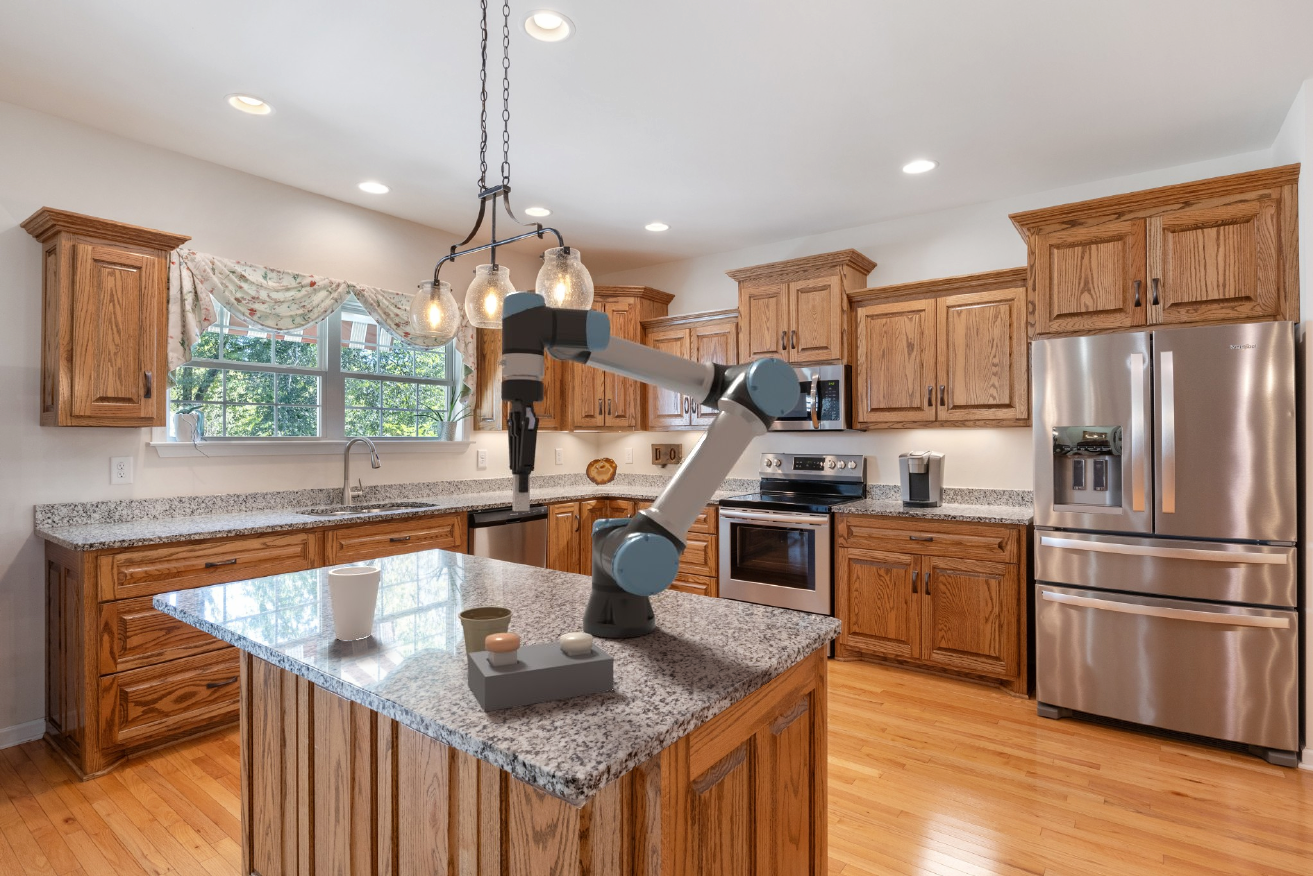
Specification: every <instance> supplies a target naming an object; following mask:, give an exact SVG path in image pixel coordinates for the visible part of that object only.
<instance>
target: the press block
mask: <svg viewBox="0 0 1313 876" xmlns="http://www.w3.org/2000/svg"><path fill="white" fill-rule="evenodd" d="M614 664H615V663H614V657H612V656H611V655H610V654H608V653H607V652H606V651H604V650H603V649H602V648H600V647H599V646H597V644H595V643H594V642H592V647H591V653H588V654H581V655H574V656H567V655H566V654H565V653H564V652H563V651H562V649H561V648H560V641H554V642H552V641H551V642H546V643H537V644H530V645H528V644H527V645H522V646H521V645H520V648H519V649H517V663H516V664H509V665H502V666H494V667H492V666H491V665H490V663H489V662H488V651H481V652H473V653H468V662H467V686H468V687H469V689H470V691H471V692H472V694H473V695H474V697H475V699H476V700H477V702H478V703H479V705H480V707H481V708H482V710H483V712H485V713H486V712H491V711H492V712H493V711H497V710H503V709H510V708H515V707H516V708H517V707H521V706H528V705H533V704H539V703H546V702H551V701H558V700H564V699H568V698H575V697H580V696H581V695H582V696H586V695H587V694H588V695H593V693H594V694H598V693H597V692H600V693H604V691H606V692H608V691H607V690H612V689H613V690H614ZM613 690H612V691H613Z"/></svg>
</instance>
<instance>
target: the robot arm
mask: <svg viewBox="0 0 1313 876" xmlns="http://www.w3.org/2000/svg"><path fill="white" fill-rule="evenodd" d="M501 316H502V317H501V359H499V361H498V364H499V365H500V366H502V367H501V377H503V378H504V380H502V382H501V386H500V387H501V390H500V396H501V400H502V401H503V402H508V403H511V410H510V411H509V413H508V418H506V426H507V434H508V435H507V437H508V439H507V440H508V460H509V463H508V464H509V470H511V474H512V511H514V512H529V511H530V510H531V509H530V507H531V506H530V501H531V500H530V499H531V498H530V496H531V488H530V487H531V474H532V472H534V471H535V462H536V450H537V438H538V436H537V435H538V428H539V424H540V418H539V417H538V416H537V413H536V411H535V405H534V403H542V402H543V401H544V397H545V392H544V391H545V388H544V387H545V384H544V383H543V381H542V380H543V379H544V378H545V351H546V353H547V354H548V355H549V356H550V357H551V358H553V359H554V360H557V361H562V362H563V361H571V362H574V363H578V364H581V365H584V366H589V367H592V368H596V369H598V370H601V371H604V372H609V373H612V374H615V375H618V376H622V377H625V378H628V379H632V380H634V381H637V382H642V383H645V384H647V385H650V386H655V387H657V388H660V389H663V390H664V389H665V390H667V391H671V392H674V393H676V394H680V395H684V396H686V397H690V398H692V399H693V401H694V403H695V404H697V405H701V406H703V407H706V408H709V409H713V410H715V411H718V413H717V414H716V416H715V417H714V419H713V420H712V422H711V423H710V424H709V426H708V427H707V429H706V430H705V431H704V432H703V434H702V435H701V437H700V438H699V439H698V441H697V442H696V443H695V445H694V447H693V448H692V449H691V451H690V452H689V453H688V454H687V455H686V458H684V460H683V461H682V462H681V464H680V465H679V467H678V468H677V470H676V471H675V472H674V474H673V475H672V477H671V478H670V480H669V481H668V482H667V484H666V485H664V488H663V489H662V491H661V492H660V493H659V494H658V496H657V497H656V498H655V500H654V501H653V503H652V504H651V505H650V507H648V508H644V509H639V510H637V511H636V513H635V514H634V516H633V517H626V518H625V517H624V518H620V517H618V518H598V519H597V520H595V521H594V522H593V524H592V532H591V538H592V540H591V543H592V544H591V549H592V550H591V593H590V596H589V598H588V602H587V605H586V608H585V611H584V613H583V617H582V630H583V631H584V633H588V634H591V635H592V636H596V637H602V638H613V639H617V638H619V639H620V638H622V639H624V638H626V639H627V638H634V637H641V636H645V635H648V633H649V634H650V633H652V631H653V630H654V629H655V630H656V616H655V613H654V608H653V606H652V602H651V600H650V597H652V596H654V595H659V594H660V593H662V592H664V591H665V590H667V589H668V588H669V587H670V586H671V585H672V584H673V582H674V581H675V580H676V577H677V575H678V573H679V569H680V558H681V555H683V553H684V551H685V550H686V549H687V547H688V542H687V541H688V540H687V533H688V531H689V530H690V529H691V527H692V526H693V524H694V523H695V521H696V520H697V519H698V518H699V516H700V515H701V514H702V512H703V510H704V509H705V507H706V506H707V505H708V504H709V502H710V500H711V499H712V498H713V496H714V495H715V493H716V492H717V491H718V489H719V488H720V486H721V485H722V483H723V482H724V481H725V479H726V478H727V476H728V475H729V473H730V472H731V471H732V469H733V468H734V467H735V465H736V464H737V462H738V461H739V460H740V458H741V456H742V455H743V453H745V451H746V450H747V447H748V446H749V445H750V444H751V442H752V441H753V439H754V438H756V437H760V436H766V434H767V433H768V431H769V430H770V429H771V427H773V424H774V423H775V422H776V420H778V417H779V418H780V417H784V416H785V415H787V414H788V413H790V412H792V411H793V409H795V407H796V406H797V405H798V402H799V400H800V396H801V385H800V380H799V379H800V378H799V377H798V374H797V372H796V371H795V369H794V368H793V367H792V366H791V364H790V363H788V362H787V361H785V360H784V359H781V358H778V357H766V356H765V357H759V358H757V359H755V360H752V361H748V362H743V363H739V364H722V363H717V362H714V361H713V362H712V361H709V360H708V361H706V362H703V363H701V362H698V361H695V360H692V359H688V358H686V357H681V356H679V355H676V354H673V353H671V352H670V353H669V352H666V351H662V350H661V349H657V348H653V347H651V346H647V345H645V344H641V343H638V342H635V341H632V340H629V339H626V338H624V337H623V338H622V337H619V336H616V335H613V334H611V321H610V320H611V319H610V317H609V315H608V313H606V312H605V311H599V310H593V309H590V308H589V309H578V308H577V309H576V308H561V307H551V306H547V303H546V299H545V297H544V295H542V294H540V293H535V292H532V291H515V292H514V291H513V292H510V293H507V294H506V295H505V297H504V298H503V303H502V315H501ZM655 630H654V631H655ZM654 631H653V632H654Z"/></svg>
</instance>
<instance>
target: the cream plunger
mask: <svg viewBox="0 0 1313 876" xmlns="http://www.w3.org/2000/svg"><path fill="white" fill-rule="evenodd" d="M593 636H594V635H592V634H589V633H587V632H581V631H580V632H578V631H577V632H568V633H565V634H562V635H560V636H559V638H560V639H559V640H560V641H559V642H560V648H561V649H562V651H563V652H564V653H565V654H566V655H567V656H574V655H581V654H588V653H591V647H592V643H593Z"/></svg>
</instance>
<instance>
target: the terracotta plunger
mask: <svg viewBox="0 0 1313 876" xmlns="http://www.w3.org/2000/svg"><path fill="white" fill-rule="evenodd" d="M520 647H521V636H520V635H519V634H517V633H513V632H508V633H498V634H492V635H489V636H487V637H486V639H485V649H486V650H487V651H488V662H489V663H490V665H491V666H492V667H494V666H502V665H509V664H516V663H517V649H519V648H520Z"/></svg>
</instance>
